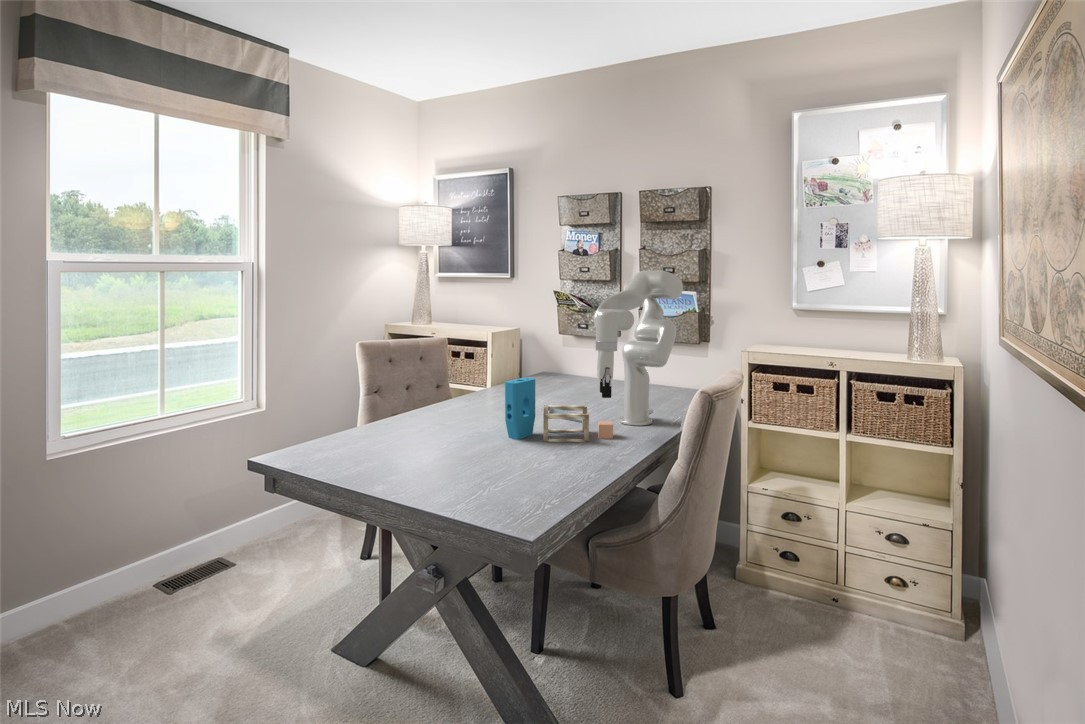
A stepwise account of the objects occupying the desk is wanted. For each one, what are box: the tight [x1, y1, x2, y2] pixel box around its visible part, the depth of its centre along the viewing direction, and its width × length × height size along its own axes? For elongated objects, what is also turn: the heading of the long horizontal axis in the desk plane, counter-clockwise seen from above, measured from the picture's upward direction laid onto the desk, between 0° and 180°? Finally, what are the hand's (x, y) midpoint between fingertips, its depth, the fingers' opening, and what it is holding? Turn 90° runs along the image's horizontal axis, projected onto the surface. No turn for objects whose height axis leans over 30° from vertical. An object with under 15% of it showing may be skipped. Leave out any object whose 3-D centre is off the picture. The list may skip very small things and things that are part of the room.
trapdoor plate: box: [548, 407, 582, 424], centre depth 224 cm, size 12×10×1 cm
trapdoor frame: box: [542, 405, 590, 443], centre depth 225 cm, size 16×14×10 cm
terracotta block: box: [597, 420, 614, 439], centre depth 225 cm, size 5×5×5 cm
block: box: [504, 377, 536, 440], centre depth 224 cm, size 12×5×20 cm, turn 143°
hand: (605, 395), depth 223 cm, fingers open, 9 cm apart
